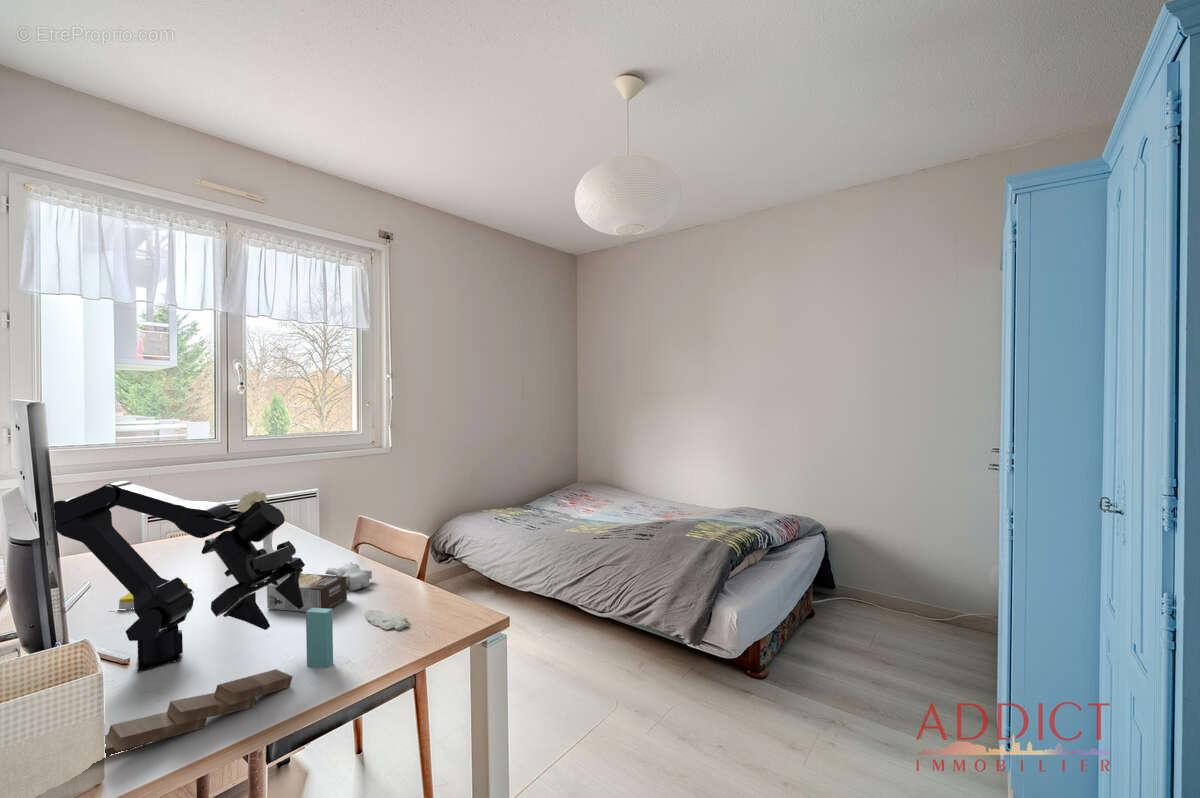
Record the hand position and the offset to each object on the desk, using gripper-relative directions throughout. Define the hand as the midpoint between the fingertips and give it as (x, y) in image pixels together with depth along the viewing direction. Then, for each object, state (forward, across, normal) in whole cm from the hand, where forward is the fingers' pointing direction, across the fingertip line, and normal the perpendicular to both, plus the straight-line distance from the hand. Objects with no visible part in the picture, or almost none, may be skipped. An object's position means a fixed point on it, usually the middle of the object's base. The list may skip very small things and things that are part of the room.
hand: (285, 617), depth 103 cm
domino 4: (+9, -8, 0) cm, 12 cm away
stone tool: (+14, +18, -2) cm, 23 cm away
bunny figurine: (0, +39, +15) cm, 42 cm away
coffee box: (-10, +25, +21) cm, 34 cm away
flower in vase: (-20, +45, +40) cm, 63 cm away
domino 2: (+6, -19, +5) cm, 21 cm away
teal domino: (+12, -1, -1) cm, 12 cm away
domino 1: (+4, -22, +8) cm, 24 cm away
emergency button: (-28, +22, +50) cm, 62 cm away
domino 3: (+8, -14, +2) cm, 16 cm away
